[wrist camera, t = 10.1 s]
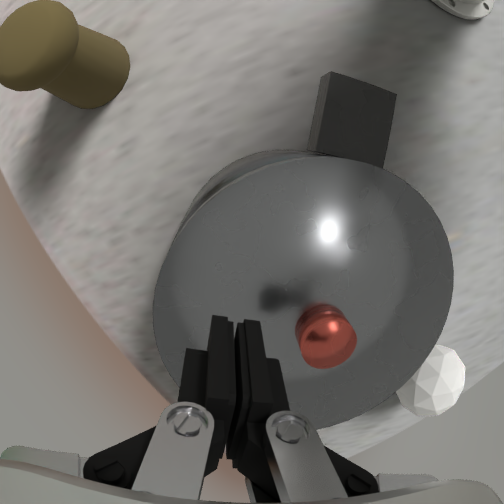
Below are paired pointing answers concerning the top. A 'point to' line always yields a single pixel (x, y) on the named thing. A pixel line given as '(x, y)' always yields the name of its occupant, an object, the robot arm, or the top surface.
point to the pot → (326, 132)
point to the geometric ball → (434, 383)
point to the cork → (60, 56)
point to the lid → (313, 280)
